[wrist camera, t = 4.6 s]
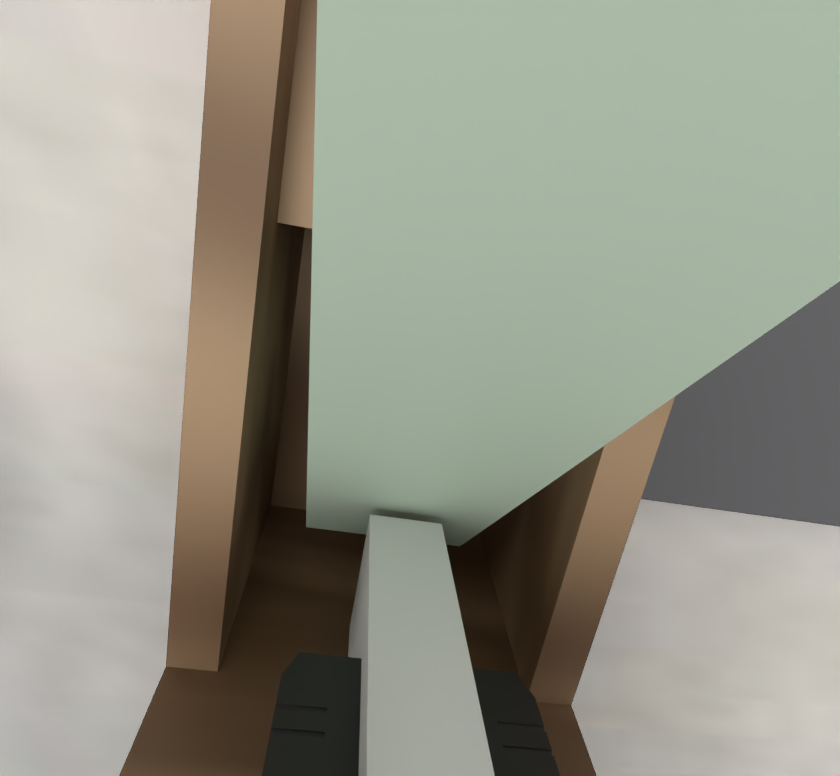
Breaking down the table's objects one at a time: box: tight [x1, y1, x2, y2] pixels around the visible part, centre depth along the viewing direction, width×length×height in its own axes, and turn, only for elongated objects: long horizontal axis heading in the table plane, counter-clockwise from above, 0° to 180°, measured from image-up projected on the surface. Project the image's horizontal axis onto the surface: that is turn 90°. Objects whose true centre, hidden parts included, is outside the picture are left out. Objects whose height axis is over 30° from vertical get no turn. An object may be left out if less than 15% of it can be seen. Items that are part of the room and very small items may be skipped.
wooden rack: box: [120, 0, 675, 776], centre depth 12 cm, size 20×10×10 cm, turn 170°
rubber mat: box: [641, 281, 840, 526], centre depth 19 cm, size 12×12×1 cm
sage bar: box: [306, 0, 840, 546], centre depth 10 cm, size 16×4×4 cm
